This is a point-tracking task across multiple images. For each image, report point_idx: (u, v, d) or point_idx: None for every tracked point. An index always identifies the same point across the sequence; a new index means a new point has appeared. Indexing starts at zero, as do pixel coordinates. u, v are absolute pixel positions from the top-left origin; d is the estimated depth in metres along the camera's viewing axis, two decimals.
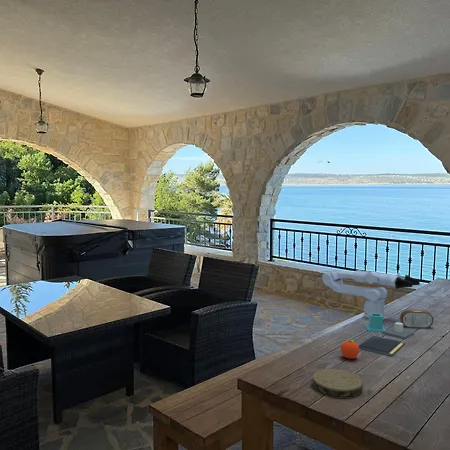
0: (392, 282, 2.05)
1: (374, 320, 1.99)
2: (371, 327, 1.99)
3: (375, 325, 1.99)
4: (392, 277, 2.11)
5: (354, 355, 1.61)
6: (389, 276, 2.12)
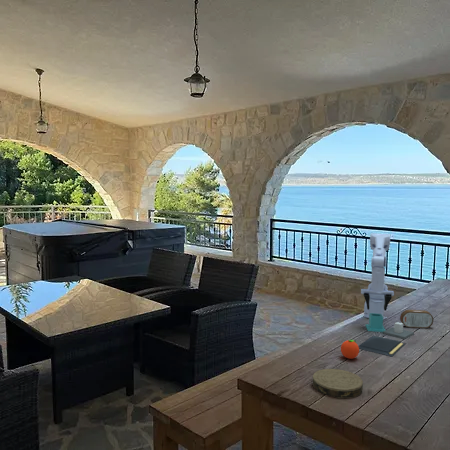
0: (361, 291, 2.01)
1: (374, 320, 1.99)
2: (371, 327, 1.99)
3: (375, 325, 1.99)
4: (373, 287, 1.98)
5: (354, 355, 1.61)
6: (374, 284, 1.98)
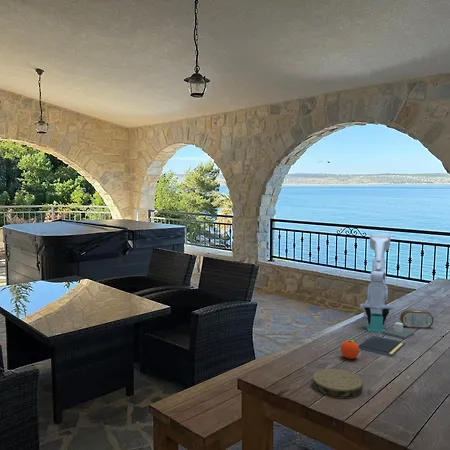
0: (360, 306, 2.02)
1: (374, 320, 1.99)
2: (371, 327, 1.99)
3: (375, 325, 1.99)
4: (373, 302, 1.99)
5: (354, 355, 1.61)
6: (373, 299, 1.99)
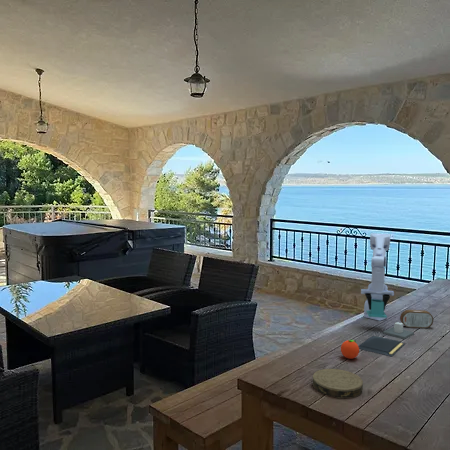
0: (361, 291, 2.01)
1: (374, 305, 1.98)
2: (372, 313, 1.99)
3: (376, 311, 1.98)
4: (373, 287, 1.98)
5: (354, 355, 1.61)
6: (374, 284, 1.98)
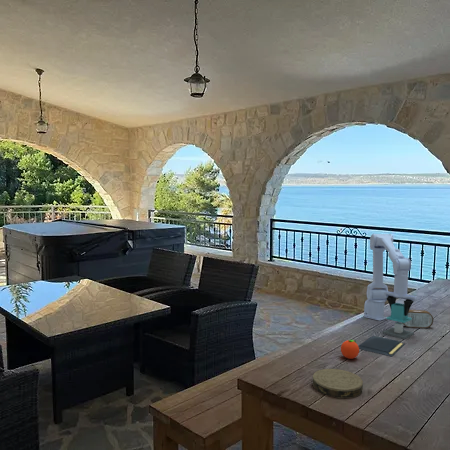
0: None
1: (394, 309, 1.93)
2: (391, 316, 1.94)
3: (395, 314, 1.92)
4: (394, 290, 1.93)
5: (354, 355, 1.61)
6: (394, 287, 1.93)
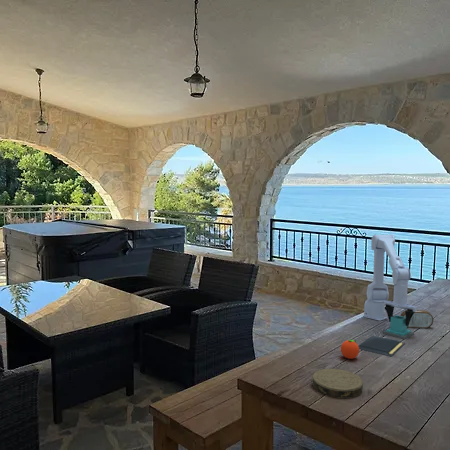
0: None
1: (393, 321, 1.93)
2: (391, 329, 1.94)
3: (394, 327, 1.93)
4: (393, 299, 1.93)
5: (354, 355, 1.61)
6: (394, 296, 1.93)
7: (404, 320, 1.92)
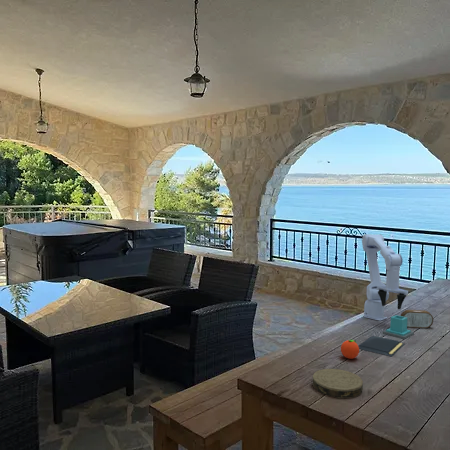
0: None
1: (393, 321, 1.93)
2: (391, 329, 1.94)
3: (394, 327, 1.93)
4: (386, 284, 2.03)
5: (354, 355, 1.61)
6: (386, 281, 2.03)
7: (404, 320, 1.92)
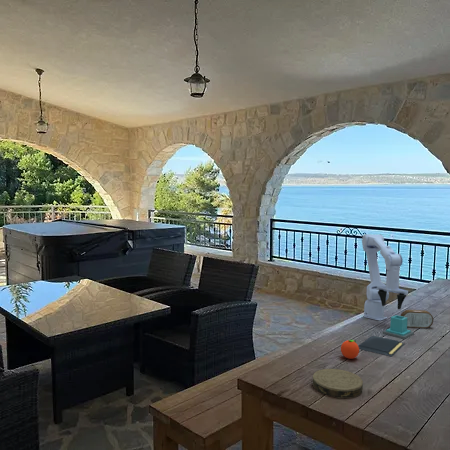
0: None
1: (393, 321, 1.93)
2: (391, 329, 1.94)
3: (394, 327, 1.93)
4: (386, 284, 2.03)
5: (354, 355, 1.61)
6: (386, 281, 2.03)
7: (404, 320, 1.92)
